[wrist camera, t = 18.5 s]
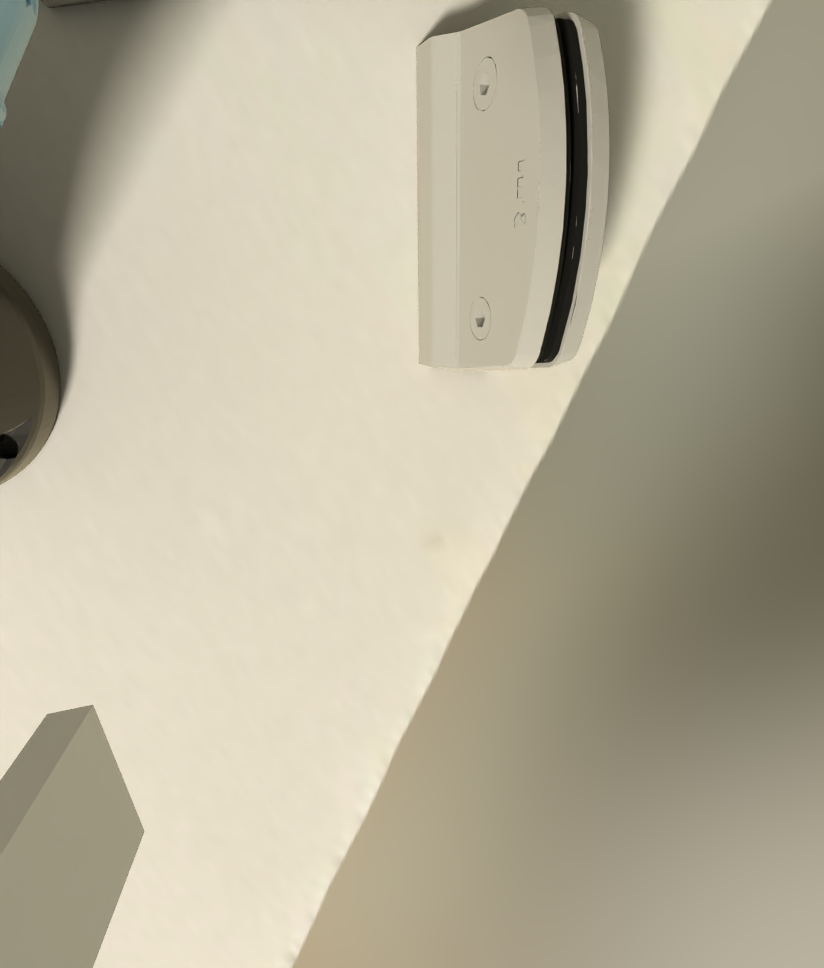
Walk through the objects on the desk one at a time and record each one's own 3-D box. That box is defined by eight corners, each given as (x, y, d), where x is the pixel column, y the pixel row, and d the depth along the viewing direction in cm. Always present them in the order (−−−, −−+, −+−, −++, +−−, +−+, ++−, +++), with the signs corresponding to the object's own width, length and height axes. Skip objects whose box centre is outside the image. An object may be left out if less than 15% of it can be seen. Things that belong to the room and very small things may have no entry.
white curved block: (416, 38, 32) (529, -52, 24) (496, 50, 34) (628, -30, 26) (419, 370, 38) (513, 396, 29) (489, 365, 39) (597, 388, 31)
